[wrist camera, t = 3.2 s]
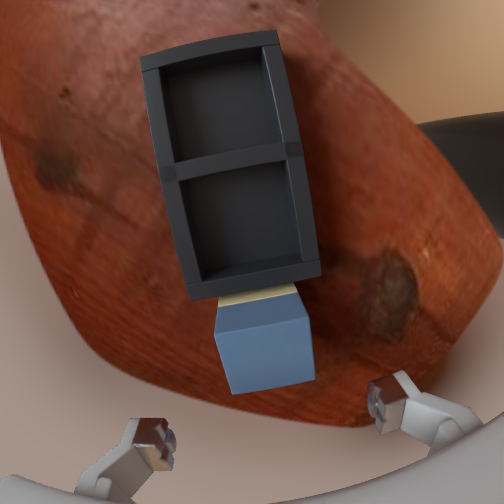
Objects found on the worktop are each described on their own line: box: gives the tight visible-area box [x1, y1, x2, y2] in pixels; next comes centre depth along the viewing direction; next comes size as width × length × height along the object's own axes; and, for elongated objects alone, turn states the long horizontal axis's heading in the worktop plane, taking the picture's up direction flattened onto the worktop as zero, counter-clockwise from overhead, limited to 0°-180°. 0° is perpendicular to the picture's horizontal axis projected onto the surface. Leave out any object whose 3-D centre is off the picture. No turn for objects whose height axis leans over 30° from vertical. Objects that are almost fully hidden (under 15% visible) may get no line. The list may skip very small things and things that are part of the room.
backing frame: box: [140, 30, 322, 301], centre depth 16 cm, size 8×14×3 cm, turn 11°
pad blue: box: [214, 292, 316, 394], centre depth 15 cm, size 4×4×3 cm
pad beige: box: [218, 282, 298, 307], centre depth 18 cm, size 4×4×3 cm
